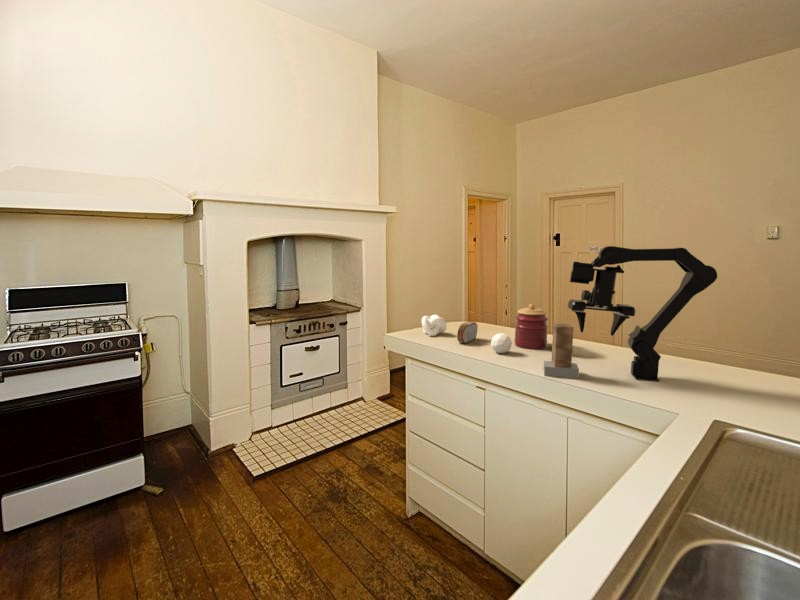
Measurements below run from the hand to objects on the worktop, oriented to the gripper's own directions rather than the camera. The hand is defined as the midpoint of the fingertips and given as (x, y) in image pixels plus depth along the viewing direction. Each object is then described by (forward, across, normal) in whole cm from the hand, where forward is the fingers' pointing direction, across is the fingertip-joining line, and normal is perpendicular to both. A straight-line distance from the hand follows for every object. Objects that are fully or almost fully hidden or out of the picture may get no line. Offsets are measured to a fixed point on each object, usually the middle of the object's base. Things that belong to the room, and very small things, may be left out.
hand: (596, 333), depth 131 cm
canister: (+15, +13, -35) cm, 40 cm away
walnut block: (+11, +10, +3) cm, 15 cm away
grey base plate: (+14, +10, +3) cm, 17 cm away
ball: (+16, +26, -22) cm, 38 cm away
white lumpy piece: (+19, +54, -51) cm, 77 cm away
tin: (+17, +39, -39) cm, 57 cm away
